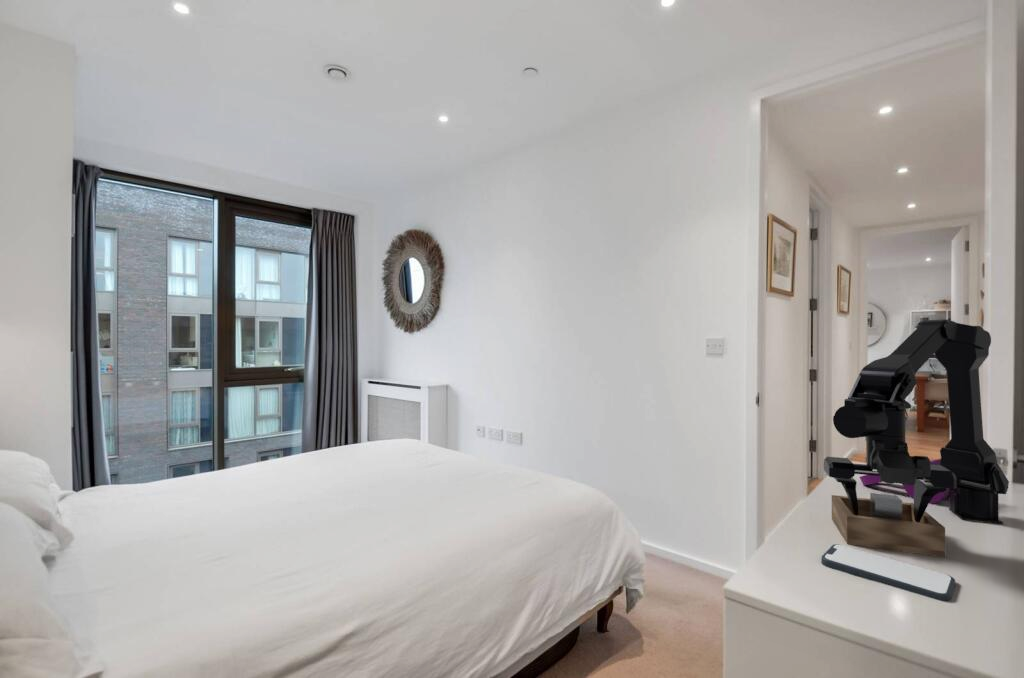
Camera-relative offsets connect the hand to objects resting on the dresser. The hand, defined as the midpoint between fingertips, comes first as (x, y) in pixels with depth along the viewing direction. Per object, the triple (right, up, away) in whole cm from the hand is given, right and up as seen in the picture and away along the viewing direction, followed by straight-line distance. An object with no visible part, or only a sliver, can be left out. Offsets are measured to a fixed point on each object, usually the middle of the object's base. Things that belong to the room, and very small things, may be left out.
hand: (885, 518), depth 89 cm
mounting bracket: (+26, -4, +27) cm, 38 cm away
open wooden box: (+1, -4, +2) cm, 4 cm away
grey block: (+1, -3, +2) cm, 3 cm away
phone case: (-10, -5, -12) cm, 17 cm away
